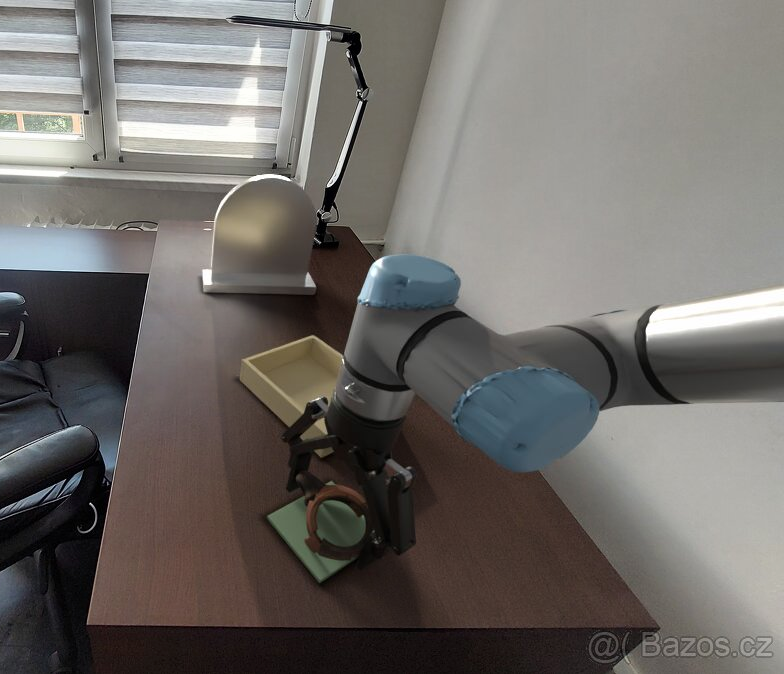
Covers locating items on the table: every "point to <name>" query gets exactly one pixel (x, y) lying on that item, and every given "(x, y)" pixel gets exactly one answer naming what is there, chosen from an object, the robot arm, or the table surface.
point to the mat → (319, 532)
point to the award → (263, 239)
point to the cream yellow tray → (294, 380)
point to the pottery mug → (314, 498)
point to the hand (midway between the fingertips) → (327, 522)
